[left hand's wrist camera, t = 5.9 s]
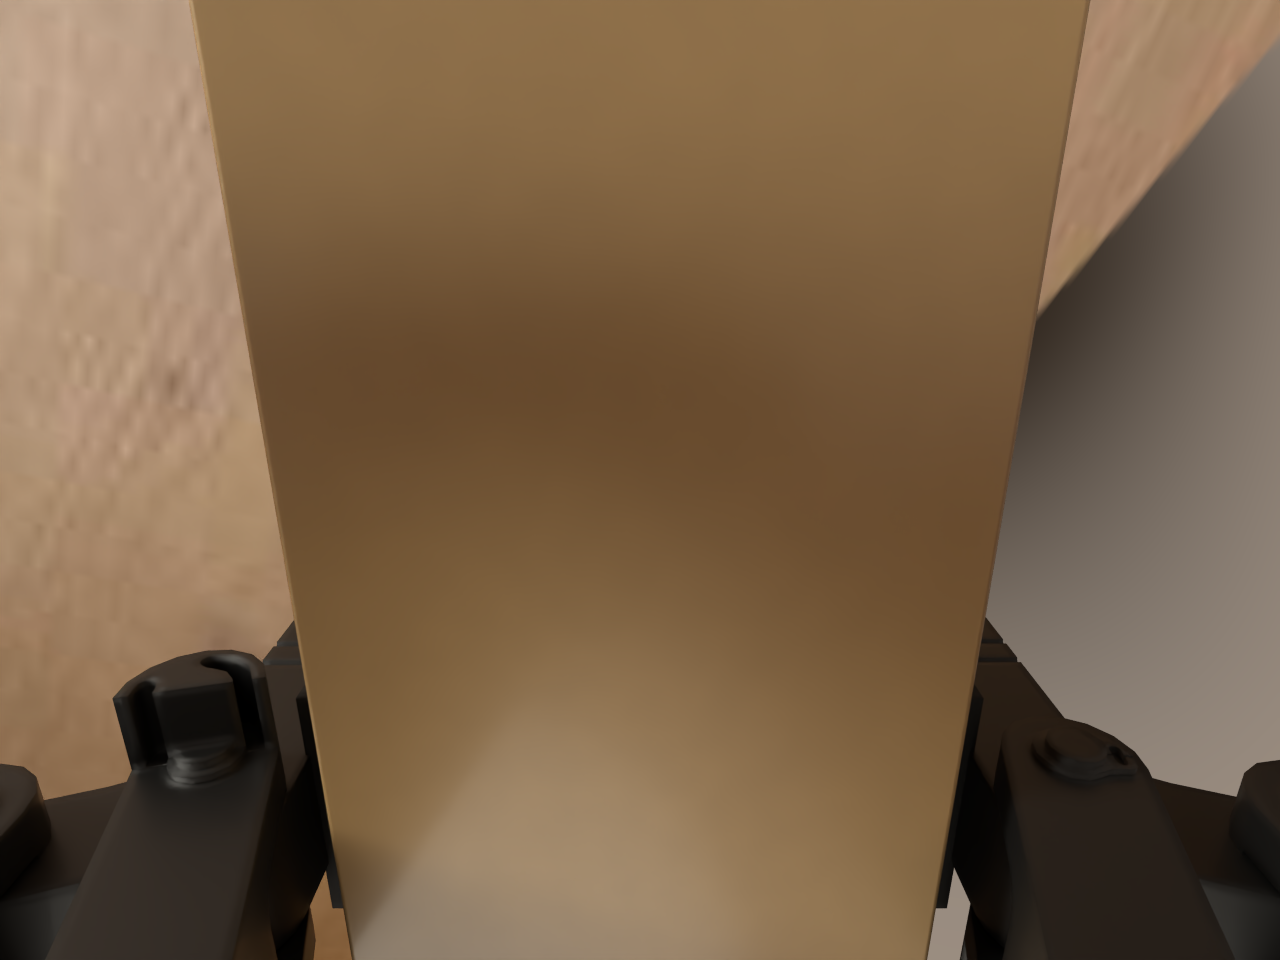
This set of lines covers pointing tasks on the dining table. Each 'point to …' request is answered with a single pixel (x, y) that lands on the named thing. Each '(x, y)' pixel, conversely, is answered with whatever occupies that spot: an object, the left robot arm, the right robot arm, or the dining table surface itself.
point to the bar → (639, 444)
